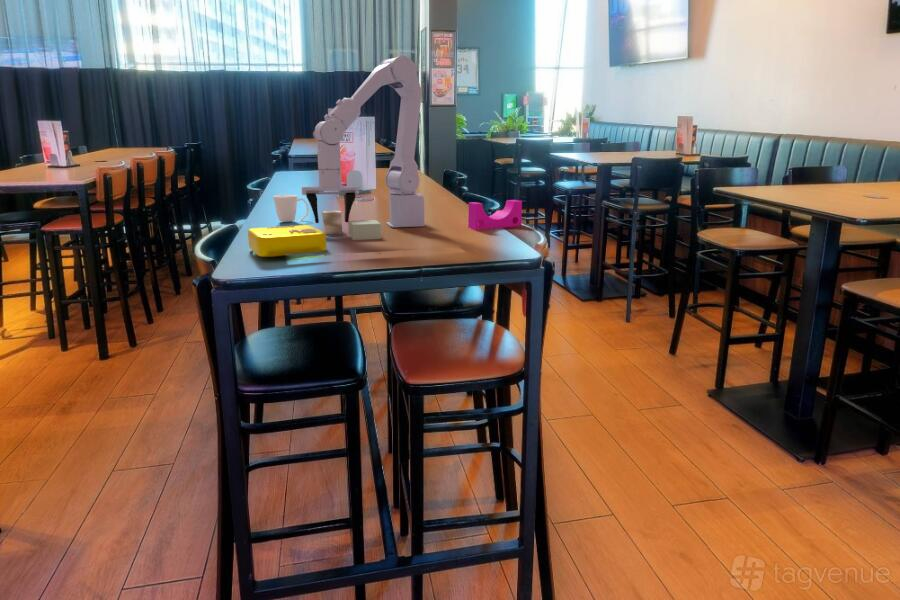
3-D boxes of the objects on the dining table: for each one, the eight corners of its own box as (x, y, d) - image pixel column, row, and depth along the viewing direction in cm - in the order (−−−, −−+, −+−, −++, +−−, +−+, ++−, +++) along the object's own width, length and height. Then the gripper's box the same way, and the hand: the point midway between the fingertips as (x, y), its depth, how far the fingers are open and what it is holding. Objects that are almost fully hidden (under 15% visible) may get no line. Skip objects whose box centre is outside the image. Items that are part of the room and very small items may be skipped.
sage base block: (375, 235, 158) (375, 219, 157) (381, 239, 151) (380, 223, 150) (348, 236, 156) (348, 220, 155) (353, 240, 149) (352, 224, 148)
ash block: (340, 230, 164) (339, 210, 162) (342, 233, 159) (341, 212, 158) (323, 231, 162) (322, 210, 161) (324, 234, 158) (323, 212, 157)
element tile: (311, 242, 148) (310, 222, 147) (329, 252, 135) (328, 231, 134) (247, 247, 142) (245, 226, 140) (259, 258, 129) (257, 235, 127)
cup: (271, 223, 177) (269, 195, 174) (304, 221, 182) (303, 193, 180) (279, 226, 171) (277, 197, 169) (313, 223, 176) (311, 195, 174)
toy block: (508, 225, 176) (509, 199, 174) (521, 228, 171) (522, 201, 169) (463, 228, 169) (464, 201, 167) (475, 231, 164) (475, 203, 162)
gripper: (355, 168, 162) (357, 219, 166) (299, 168, 158) (302, 221, 162) (359, 169, 156) (361, 222, 159) (301, 170, 152) (304, 224, 155)
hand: (331, 222), depth 160 cm, fingers open, 7 cm apart
